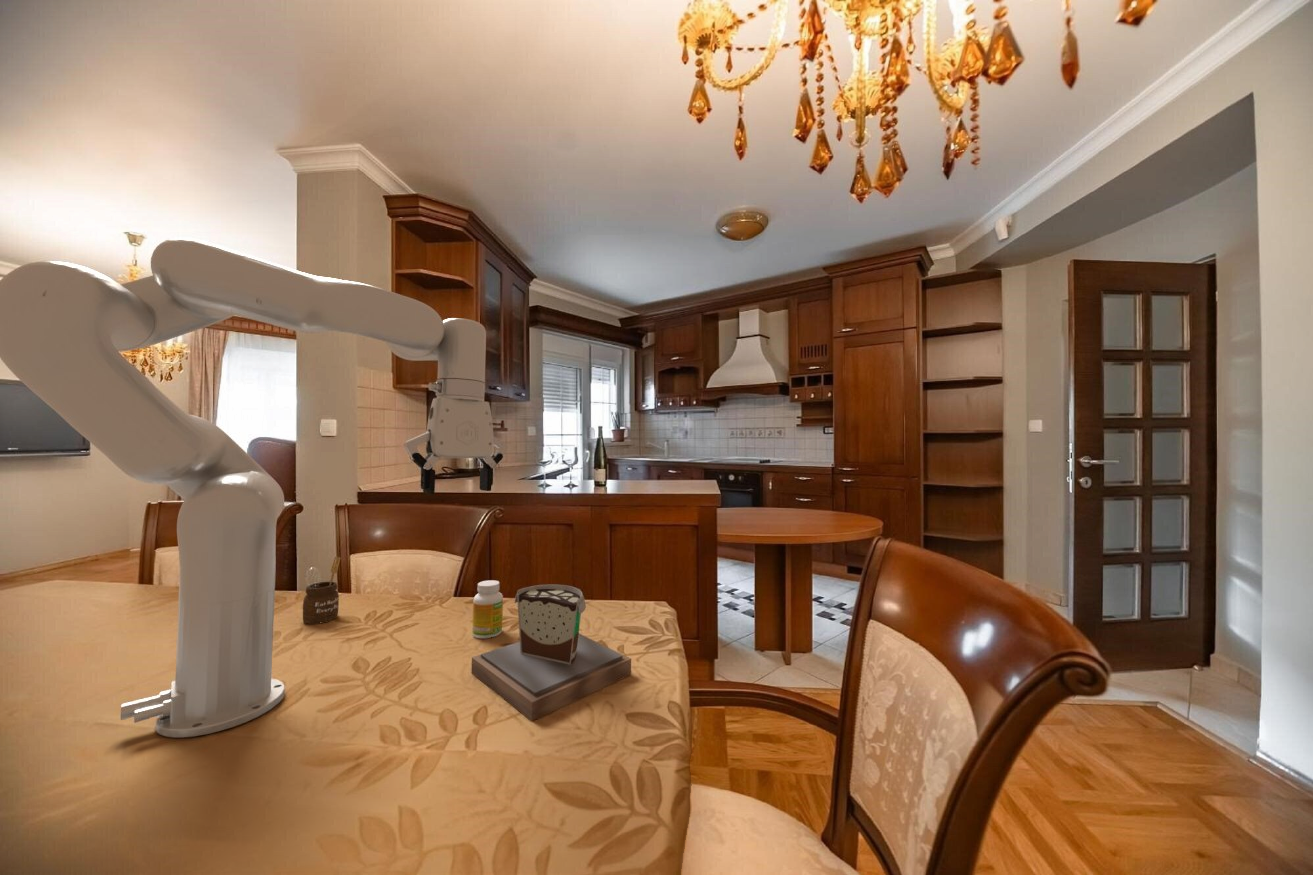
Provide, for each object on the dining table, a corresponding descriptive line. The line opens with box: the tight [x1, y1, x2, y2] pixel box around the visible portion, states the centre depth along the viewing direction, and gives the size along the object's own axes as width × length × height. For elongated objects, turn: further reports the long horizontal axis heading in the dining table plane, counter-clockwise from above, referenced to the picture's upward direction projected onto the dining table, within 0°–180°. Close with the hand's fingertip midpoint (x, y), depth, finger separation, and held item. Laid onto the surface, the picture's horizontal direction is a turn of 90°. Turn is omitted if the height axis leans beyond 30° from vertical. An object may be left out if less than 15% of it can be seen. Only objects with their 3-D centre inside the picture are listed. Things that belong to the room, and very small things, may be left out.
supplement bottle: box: [471, 579, 504, 640], centre depth 88 cm, size 5×5×10 cm
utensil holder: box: [302, 556, 341, 625], centre depth 94 cm, size 6×6×12 cm
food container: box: [514, 584, 587, 665], centre depth 75 cm, size 12×6×10 cm, turn 69°
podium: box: [470, 633, 632, 722], centre depth 73 cm, size 18×18×3 cm
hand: (458, 491), depth 78 cm, fingers open, 9 cm apart
